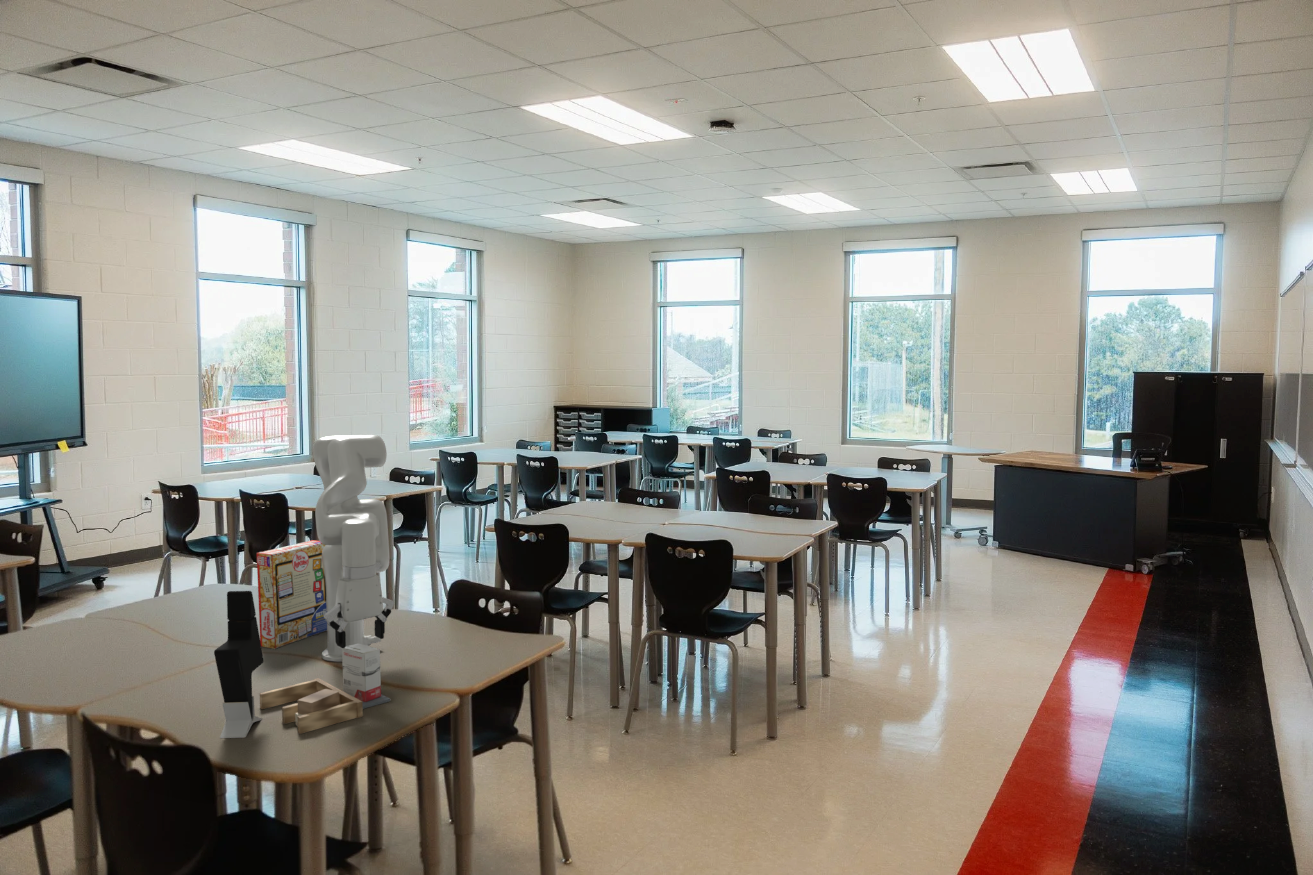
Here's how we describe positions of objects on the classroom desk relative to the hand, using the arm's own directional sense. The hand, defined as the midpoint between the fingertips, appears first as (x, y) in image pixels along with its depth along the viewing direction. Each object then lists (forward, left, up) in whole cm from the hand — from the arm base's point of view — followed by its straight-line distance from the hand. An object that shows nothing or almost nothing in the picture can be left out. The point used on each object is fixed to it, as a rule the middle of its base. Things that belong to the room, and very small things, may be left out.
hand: (360, 641), depth 216 cm
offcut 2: (+14, +7, -14) cm, 21 cm away
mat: (0, +1, -14) cm, 14 cm away
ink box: (0, +1, -13) cm, 13 cm away
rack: (+13, 0, -14) cm, 19 cm away
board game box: (-10, -58, -14) cm, 61 cm away
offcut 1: (+14, +6, -11) cm, 18 cm away
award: (+27, -2, -14) cm, 31 cm away
